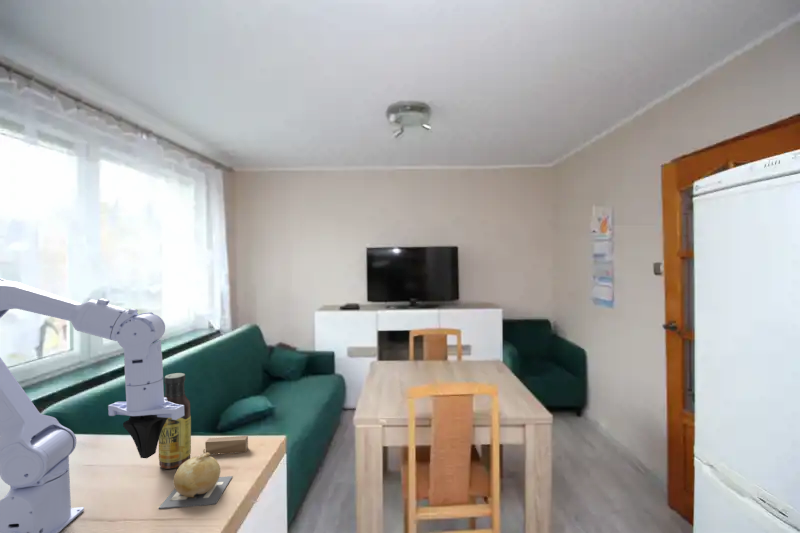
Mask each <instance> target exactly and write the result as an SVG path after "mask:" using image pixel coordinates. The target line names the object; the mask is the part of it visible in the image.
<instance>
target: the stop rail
mask: <svg viewBox="0 0 800 533" xmlns="http://www.w3.org/2000/svg"><path fill="white" fill-rule="evenodd" d="M204 444H205V453H207V452H208V453H210V454H213V455H222V454H221V453H228V454H236V453H235V452H242V453H246V452H247V451H248V450H249V436H248V435H239V436H226V437H225V436H224V437H223V436H221V437H209V438H208V439H207V440H206V441H205V443H204ZM218 453H220V454H218Z"/></svg>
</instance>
